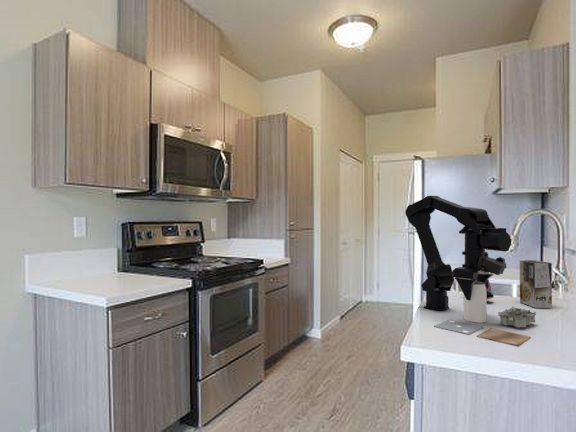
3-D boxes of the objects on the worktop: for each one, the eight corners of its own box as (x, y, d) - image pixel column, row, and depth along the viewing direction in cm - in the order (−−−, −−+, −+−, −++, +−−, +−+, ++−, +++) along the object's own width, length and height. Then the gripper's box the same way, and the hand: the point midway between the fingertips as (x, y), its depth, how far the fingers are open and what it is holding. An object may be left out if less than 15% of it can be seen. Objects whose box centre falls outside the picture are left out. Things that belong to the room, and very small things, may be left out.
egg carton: (522, 329, 105) (521, 314, 105) (496, 324, 111) (494, 310, 111) (540, 321, 110) (538, 307, 111) (513, 317, 117) (512, 304, 117)
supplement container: (489, 296, 136) (480, 269, 140) (472, 300, 140) (464, 274, 144) (497, 297, 139) (489, 270, 144) (480, 301, 144) (472, 275, 148)
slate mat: (433, 327, 108) (433, 325, 108) (449, 321, 115) (449, 319, 115) (468, 336, 101) (468, 333, 101) (483, 328, 107) (483, 326, 107)
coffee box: (552, 308, 131) (552, 262, 131) (534, 308, 131) (534, 262, 131) (536, 302, 140) (536, 259, 140) (519, 302, 140) (518, 259, 140)
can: (481, 317, 119) (481, 280, 119) (490, 323, 112) (490, 284, 112) (460, 317, 119) (460, 280, 119) (468, 323, 113) (468, 284, 113)
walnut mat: (476, 338, 99) (476, 335, 99) (490, 330, 106) (490, 328, 106) (518, 347, 92) (518, 345, 92) (530, 338, 98) (530, 336, 98)
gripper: (491, 252, 104) (491, 307, 104) (513, 248, 116) (513, 297, 116) (451, 249, 112) (451, 300, 112) (476, 246, 124) (476, 292, 124)
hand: (474, 297), depth 116 cm, fingers open, 9 cm apart
